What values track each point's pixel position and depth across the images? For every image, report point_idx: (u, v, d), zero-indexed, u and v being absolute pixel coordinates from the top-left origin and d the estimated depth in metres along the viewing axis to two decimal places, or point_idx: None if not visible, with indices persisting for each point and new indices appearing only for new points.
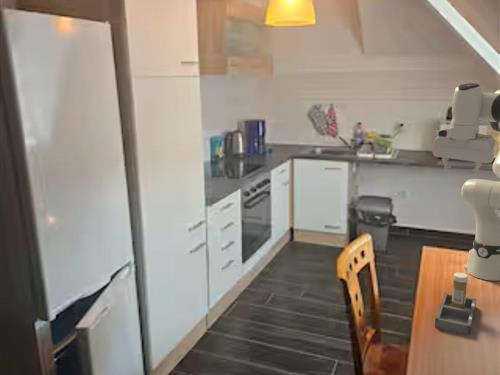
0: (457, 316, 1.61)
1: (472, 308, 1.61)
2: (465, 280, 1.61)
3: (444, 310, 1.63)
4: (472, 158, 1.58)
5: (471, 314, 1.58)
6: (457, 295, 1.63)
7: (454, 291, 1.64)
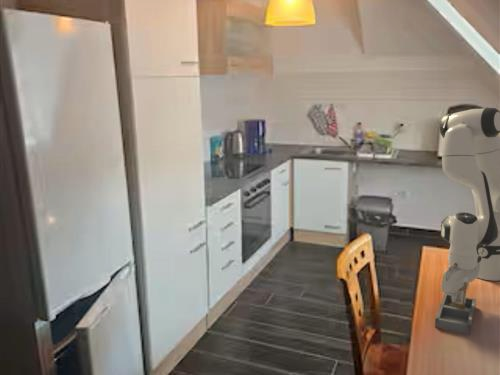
0: (457, 316, 1.61)
1: (472, 308, 1.61)
2: (465, 280, 1.61)
3: (444, 310, 1.63)
4: None
5: (471, 314, 1.58)
6: None
7: None
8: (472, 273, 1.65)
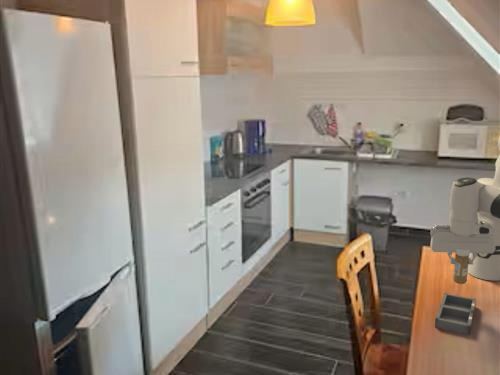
0: (457, 316, 1.61)
1: (472, 308, 1.61)
2: (462, 254, 1.59)
3: (444, 310, 1.63)
4: None
5: (471, 314, 1.58)
6: (455, 266, 1.63)
7: None
8: (479, 244, 1.58)
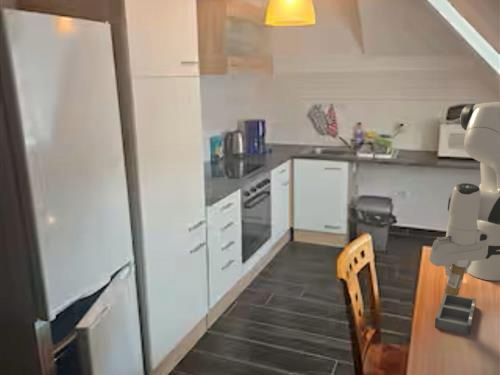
0: (457, 316, 1.61)
1: (472, 308, 1.61)
2: (463, 265, 1.50)
3: (444, 310, 1.63)
4: None
5: (471, 314, 1.58)
6: (452, 278, 1.53)
7: None
8: (475, 252, 1.52)
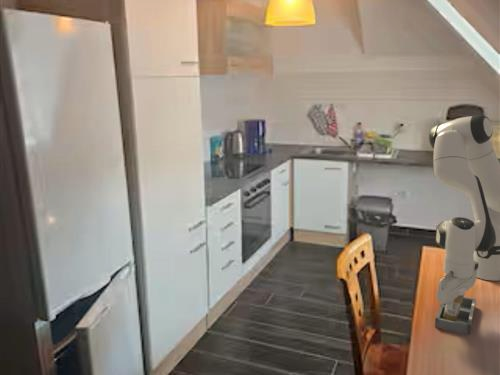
0: (457, 316, 1.61)
1: (472, 308, 1.61)
2: (463, 293, 1.53)
3: (444, 310, 1.63)
4: None
5: (471, 314, 1.58)
6: None
7: None
8: (469, 281, 1.57)
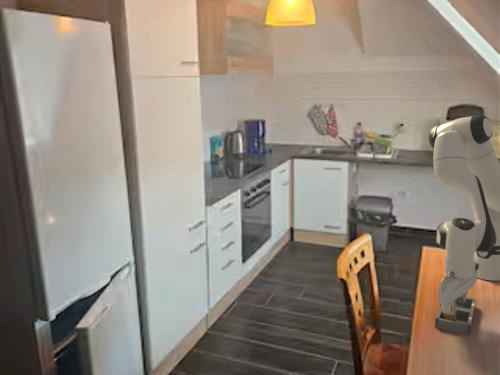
0: (457, 316, 1.61)
1: (472, 308, 1.61)
2: None
3: None
4: None
5: (471, 314, 1.58)
6: None
7: None
8: (469, 282, 1.57)
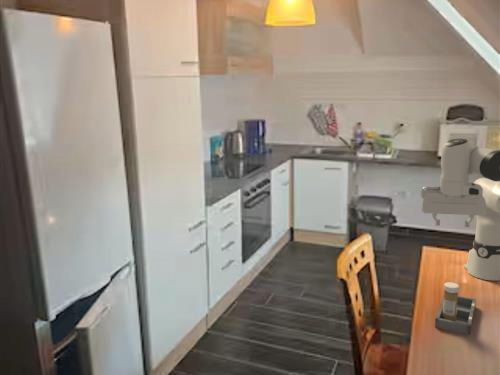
0: (457, 316, 1.61)
1: (472, 308, 1.61)
2: (457, 290, 1.54)
3: None
4: None
5: (471, 314, 1.58)
6: (448, 306, 1.56)
7: (445, 302, 1.57)
8: (469, 206, 1.58)
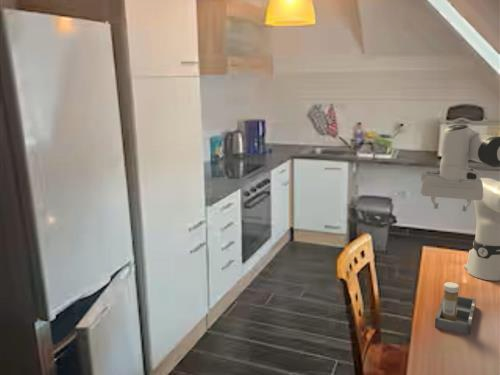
0: (457, 316, 1.61)
1: (472, 308, 1.61)
2: (457, 290, 1.54)
3: None
4: None
5: (471, 314, 1.58)
6: (448, 306, 1.56)
7: (445, 302, 1.57)
8: (467, 190, 1.62)
